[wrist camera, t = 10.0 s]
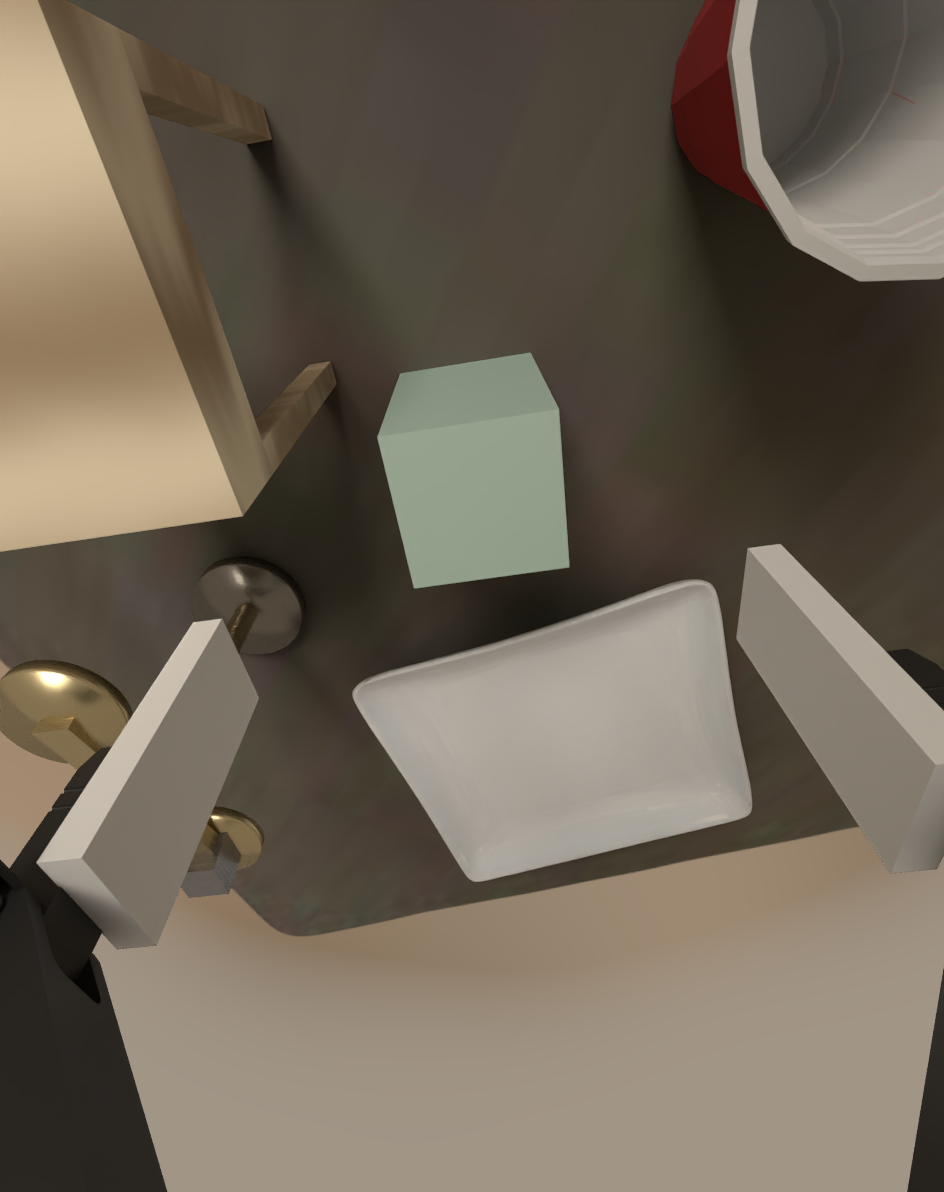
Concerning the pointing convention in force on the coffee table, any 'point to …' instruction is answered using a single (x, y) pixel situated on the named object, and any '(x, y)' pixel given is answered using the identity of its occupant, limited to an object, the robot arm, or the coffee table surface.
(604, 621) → the salad plate
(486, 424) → the block
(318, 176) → the coffee table surface
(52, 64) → the wooden stool
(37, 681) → the balance
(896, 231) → the plastic cup
